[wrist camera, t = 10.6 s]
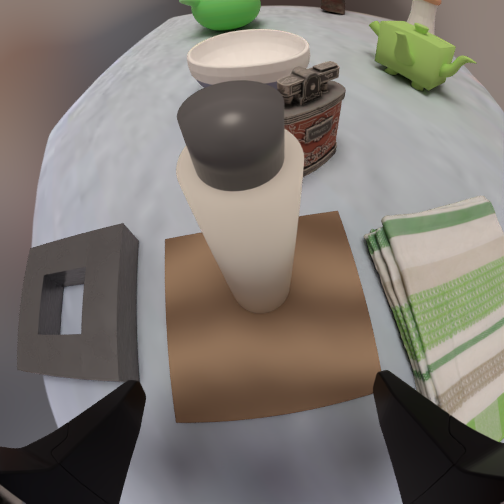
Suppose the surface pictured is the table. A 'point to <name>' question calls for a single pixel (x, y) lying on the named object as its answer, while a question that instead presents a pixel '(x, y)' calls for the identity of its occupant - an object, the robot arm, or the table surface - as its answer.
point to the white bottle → (243, 186)
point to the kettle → (415, 53)
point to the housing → (93, 311)
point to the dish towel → (449, 305)
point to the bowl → (248, 57)
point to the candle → (333, 6)
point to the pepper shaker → (424, 13)
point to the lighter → (313, 111)
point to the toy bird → (224, 12)
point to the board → (268, 332)
